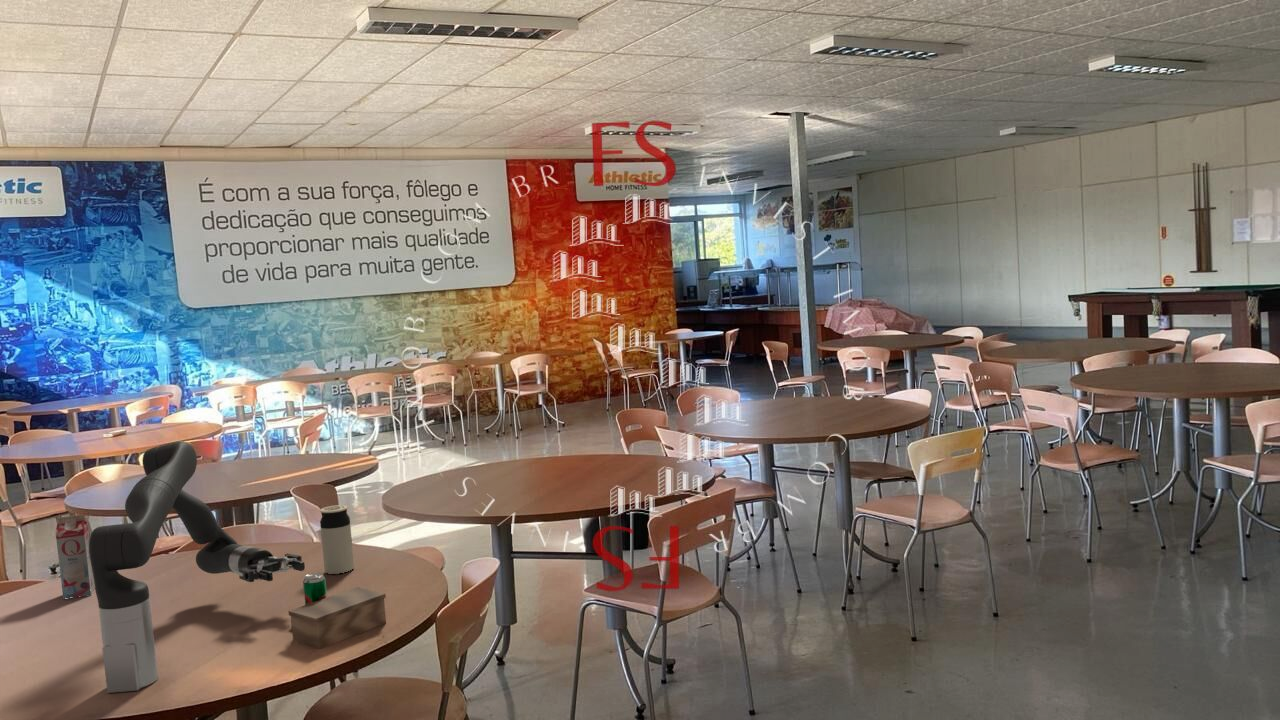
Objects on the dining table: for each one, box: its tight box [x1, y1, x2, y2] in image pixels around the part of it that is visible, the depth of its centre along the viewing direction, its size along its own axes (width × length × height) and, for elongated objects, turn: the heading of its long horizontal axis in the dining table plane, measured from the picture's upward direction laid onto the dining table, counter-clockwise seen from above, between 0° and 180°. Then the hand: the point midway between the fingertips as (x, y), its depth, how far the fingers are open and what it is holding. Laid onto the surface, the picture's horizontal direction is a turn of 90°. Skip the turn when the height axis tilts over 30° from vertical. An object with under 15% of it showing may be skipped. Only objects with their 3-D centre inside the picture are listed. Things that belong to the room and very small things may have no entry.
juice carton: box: [55, 514, 95, 599], centre depth 264 cm, size 7×7×22 cm
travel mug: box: [319, 504, 355, 575], centre depth 271 cm, size 8×8×18 cm
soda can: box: [302, 572, 328, 605], centre depth 226 cm, size 5×5×12 cm
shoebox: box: [288, 586, 387, 650], centre depth 221 cm, size 19×11×7 cm, turn 142°
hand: (287, 571), depth 233 cm, fingers open, 8 cm apart
